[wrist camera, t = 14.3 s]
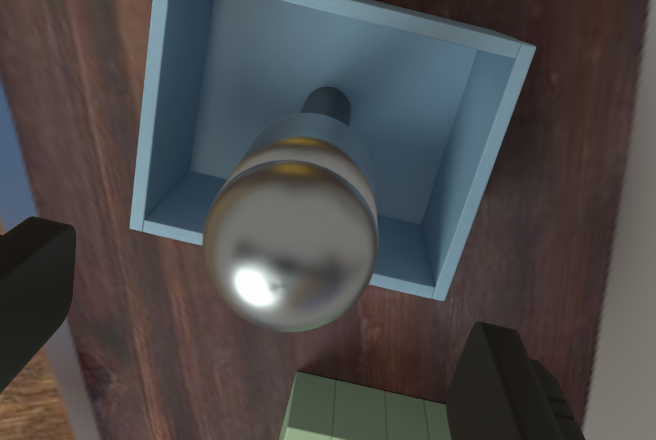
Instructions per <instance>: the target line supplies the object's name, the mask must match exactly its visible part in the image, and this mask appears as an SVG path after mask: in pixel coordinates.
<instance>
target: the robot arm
mask: <svg viewBox="0 0 656 440" xmlns="http://www.w3.org/2000/svg"><path fill="white" fill-rule="evenodd" d="M75 249H76V232H75V229H74V227H73V226H72V225H68V224H64V223H60V222H56V221H51V220H47V219H43V218H38V217H29V218H27V219H26V220H25V221H23V222H22V223H20V224H19V225H17V226H16V227H14V228H13V229H12V230H10V231H9V232H7V233H6V234H4V235H0V393H1V392H2V391H3V390H4V389H5V388H6V387H7V385H8V384H9V383H10V382H11V381H12V380H13V379H14V378H15V376H16V375H17V374H18V373H19V372H20V371H21V370H22V369H23V368H24V366H25V365H26V364H27V363H28V362H29V361H30V360H31V359H32V357H33V356H34V355H35V354H36V353H37V352H38V351H39V350H40V348H41V347H42V346H43V345H44V344H45V343H46V342H47V341H48V339H49V338H50V337H51V336H52V335H53V334H54V333H55V331H56V330H57V329H58V328H59V327H60V326H61V325H62V323H63V321H64V320H65V318H66V316H67V314H68V311H69V308H70V305H71V301H72V295H73V281H74V265H75ZM566 401H567V400H566V398H565V396H564V394H563V392H562V390H561V388H560V386H559V384H558V382H557V380H556V379H555V378H554V377H553V376H552V375H551V374H550V373H549V372H548V371H547V370H546V368H545V367H544V366H543V365H542V364H541V363H540V362H539V361H537V360H532V359H529V357H528V354H527V352H526V350H525V347H524V345H523V343H522V341H521V338H520V336H519V334H518V332H517V331H516V330H513V329H509V328H505V327H501V326H496V325H492V324H488V323H484V322H477V323H476V324H475V325H474V326H473V328H472V330H471V332H470V334H469V337H468V339H467V342H466V345H465V347H464V350H463V352H462V355H461V357H460V360H459V362H458V365H457V367H456V370H455V373H454V375H453V378H452V380H451V383H450V386H449V390H448V395H447V403H446V414H447V420H448V425H449V430H450V436H451V440H585V438H584V436H583V434H582V432H581V429H580V427H579V425H578V423H577V422H576V421H574V418H575V417H574V415H573V413H572V411H571V409H570V407H569V405H568V404H566Z"/></svg>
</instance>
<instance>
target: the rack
mask: <svg viewBox="0 0 656 440" xmlns="http://www.w3.org/2000/svg"><path fill="white" fill-rule="evenodd" d="M279 440H451V436H450V430H449V425H448V420H447V414H446V405H445V404H440V403H436V402H432V401H427V400H424V401H423V400H422V399H418V398H414V397H409V396H405V395H400V394H396V393H391V392H387V391H385V392H384V391H383V390H379V389H374V388H370V387H365V386H361V385H356V384H352V383H348V382H343V381H339V380H334V379H329V378H325V377H320V376H316V375H311V374H307V373H302V372H296V375H295V379H294V383H293V387H292V391H291V395H290V398H289V402H288V406H287V410H286V414H285V418H284V422H283V426H282V429H281V433H280V437H279Z"/></svg>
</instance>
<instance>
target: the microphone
mask: <svg viewBox="0 0 656 440" xmlns="http://www.w3.org/2000/svg"><path fill="white" fill-rule="evenodd" d="M350 114H351V107H350V103H349V100H348V98H347V97H346V95H345V94H344V93H343V92H341V91H340V90H338V89H336V88H333V87H321V88H318V89H316V90H314V91H313V92H312V93H311V94H310V95H309V96H308V98H307V99H306V102H305V104H304V106H303V108H302V110H301V112H300V114H294V115H291V116H287V117H284V118H282V119H280V120H278V121H276V122H274V123H273V124H271V125H270V126H269V127H267V128H266V129H264V130H263V131H262V132H261V133H260V134H259V135H258V136H257V138H256V139H255V140H254V141H253V143H252V144H251V146H250V147H249V149H248V150H247V152H246V153H245V155H244V156H243V158H242V159H241V161H240V162H239V164H238V165H237V166H236V168H235V169H234V171H233V172H232V174H231V175H230V177H229V178H228V180H227V181H226V183H225V184H224V186H223V187H222V188H221V190H220V191H219V193H218V194H217V196H216V198H215V200H214V201H213V203H212V205H211V207H210V210H209V212H208V215H207V218H206V222H205V226H204V229H203V242H202V249H203V257H204V263H205V269H206V271H207V274H208V277H209V279H210V282H211V284H212V285H213V287H214V288H215V290H216V292H217V293H218V295H219V296H220V298H221V299H222V300H223V301H224V302H225V304H226V305H227V306H228V307H229V308H230V309H231V310H232V311H233V312H235V313H236V314H237V315H239V316H240V317H241V318H243V319H244V320H246V321H248V322H250V323H252V324H254V325H256V326H259V327H262V328H265V329H268V330H273V331H280V332H302V331H307V330H312V329H315V328H318V327H320V326H323V325H325V324H328V323H330V322H332V321H334V320H335V319H337V318H338V317H340V316H342V315H343V314H345V313H346V312H347V311H348V310H349V309H350V308H351V307H352V306H353V305H354V304H355V303H356V302H357V301H358V299H359V298H360V296H361V295H362V294H363V292H364V291H365V289H366V288H367V286H368V285H369V283H370V280H371V278H372V276H373V273H374V271H375V266H376V260H377V256H378V249H379V238H378V222H377V207H376V191H375V175H374V168H373V163H372V160H371V157H370V154H369V153H368V151H367V149H366V146H365V144H364V143H363V142H362V140H361V139H360V138H359V136H358V135H357V134H356V133H355V132H354V131H353V130H352V129H351V128H349V126H350Z"/></svg>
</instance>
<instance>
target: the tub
mask: <svg viewBox="0 0 656 440" xmlns="http://www.w3.org/2000/svg"><path fill="white" fill-rule="evenodd" d="M535 50H536V46H534V45H531V44H529V43H526V42H523V41H521V40H518V39H515V38H513V37H510V36H507V35H504V34H502V33H499V32H496V31H494V30H490V29H486V28H482V27H478V26H474V25H470V24H466V23H462V22H458V21H454V20H450V19H446V18H443V17H439V16H435V15H431V14H427V13H423V12H419V11H415V10H411V9H407V8H403V7H399V6H395V5H391V4H387V3H383V2H379V1H375V0H153V3H152V13H151V23H150V33H149V42H148V52H147V62H146V72H145V82H144V92H143V101H142V111H141V121H140V131H139V141H138V150H137V160H136V170H135V180H134V190H133V200H132V209H131V219H130V229H134V230H138V231H143V232H146V233H150V234H155V235H159V236H163V237H168V238H172V239H176V240H180V241H185V242H189V243H193V244H198V245H202V242H203V229H204V226H205V222H206V218H207V215H208V212H209V210H210V207H211V205H212V203H213V201H214V200H215V198H216V196H217V194H218V193H219V191H220V190H221V188H222V187H223V186H224V184H225V183H226V181H227V180H228V178H229V177H230V175H231V174H232V172H233V171H234V169H235V168H236V166H237V165H238V164H239V162H240V161H241V159H242V158H243V156H244V155H245V153H246V152H247V150H248V149H249V147H250V146H251V144H252V143H253V141H254V140H255V139H256V138H257V136H258V135H259V134H260V133H261V132H262V131H263V130H264V129H266V128H267V127H269V126H270V125H271V124H273V123H274V122H276V121H278V120H280V119H282V118H284V117H287V116H291V115H294V114H300V112H301V110H302V108H303V106H304V104H305V102H306V99H307V98H308V96H309V95H310V94H311V93H312V92H313V91H314V90H316V89H318V88H321V87H333V88H336V89H338V90H340V91H341V92H343V93H344V94H345V95H346V97H347V98H348V100H349V103H350V107H351V114H350V126H349V128H351V129H352V130H353V131H354V132H355V133H356V134H357V135H358V136H359V138H360V139H361V140H362V142H363V143H364V144H365V146H366V149H367V151H368V153H369V154H370V157H371V160H372V163H373V168H374V175H375V191H376V207H377V222H378V238H379V249H378V256H377V260H376V266H375V271H374V273H373V276H372V278H371V280H370V283H369V284H370V285H375V286H379V287H383V288H388V289H392V290H396V291H401V292H405V293H409V294H414V295H418V296H422V297H427V298H433V299H436V300H441V301H445V298H446V296H447V293H448V290H449V287H450V285H451V282H452V279H453V276H454V274H455V271H456V268H457V265H458V263H459V260H460V257H461V254H462V252H463V249H464V246H465V243H466V241H467V238H468V235H469V232H470V229H471V227H472V224H473V221H474V218H475V216H476V213H477V210H478V207H479V205H480V202H481V199H482V196H483V194H484V191H485V188H486V185H487V183H488V180H489V177H490V174H491V172H492V169H493V166H494V163H495V161H496V158H497V155H498V152H499V150H500V147H501V144H502V141H503V138H504V136H505V133H506V130H507V127H508V125H509V122H510V119H511V116H512V114H513V111H514V108H515V105H516V103H517V100H518V97H519V94H520V92H521V89H522V86H523V83H524V81H525V78H526V75H527V72H528V70H529V67H530V64H531V61H532V59H533V56H534V53H535Z"/></svg>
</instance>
